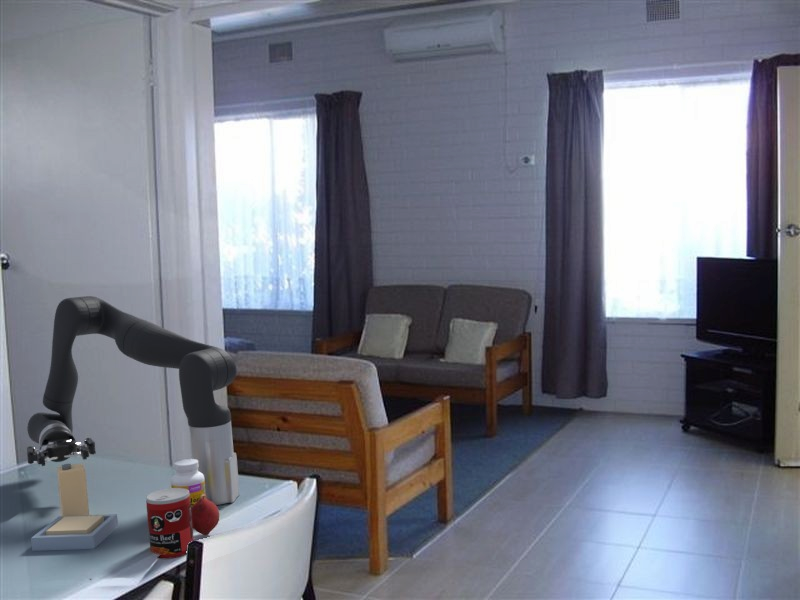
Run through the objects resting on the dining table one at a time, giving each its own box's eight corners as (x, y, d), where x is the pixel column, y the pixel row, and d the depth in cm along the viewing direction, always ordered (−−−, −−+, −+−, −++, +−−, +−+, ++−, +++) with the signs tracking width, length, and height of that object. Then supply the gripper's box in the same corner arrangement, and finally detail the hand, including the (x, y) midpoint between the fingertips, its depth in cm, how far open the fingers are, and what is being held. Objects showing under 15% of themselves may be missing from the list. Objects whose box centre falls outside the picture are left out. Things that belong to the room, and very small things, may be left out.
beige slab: (104, 530, 178) (103, 515, 178) (88, 545, 170) (86, 529, 170) (65, 531, 179) (64, 516, 178) (47, 546, 171) (45, 531, 170)
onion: (213, 540, 171) (210, 500, 170) (185, 540, 172) (182, 500, 172) (225, 530, 177) (222, 490, 176) (198, 529, 178) (194, 490, 177)
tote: (118, 531, 180) (117, 514, 180) (94, 553, 168) (92, 535, 168) (60, 533, 181) (59, 516, 180) (32, 555, 169) (31, 537, 169)
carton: (87, 518, 189) (81, 459, 188) (90, 525, 185) (84, 464, 183) (62, 523, 187) (56, 463, 186) (64, 530, 182) (58, 469, 181)
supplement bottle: (191, 531, 177) (185, 468, 176) (167, 526, 181) (162, 464, 180) (214, 520, 183) (209, 459, 182) (191, 516, 187) (186, 456, 185)
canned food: (142, 557, 165) (137, 499, 164) (168, 541, 172) (164, 486, 171) (176, 561, 162) (171, 502, 161) (202, 545, 169) (197, 488, 168)
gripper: (22, 430, 206) (27, 446, 191) (87, 421, 212) (97, 436, 197) (25, 462, 207) (30, 480, 192) (90, 452, 213) (99, 469, 198)
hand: (64, 458), depth 195 cm, fingers open, 8 cm apart
